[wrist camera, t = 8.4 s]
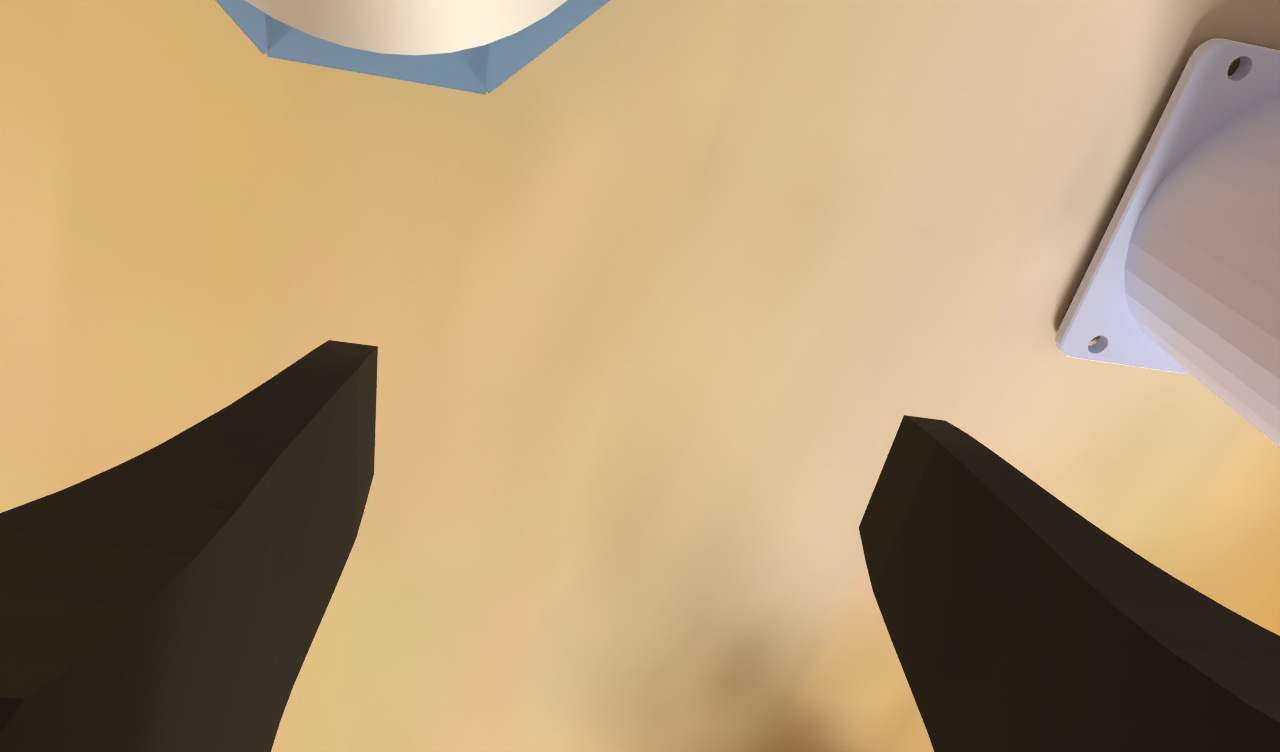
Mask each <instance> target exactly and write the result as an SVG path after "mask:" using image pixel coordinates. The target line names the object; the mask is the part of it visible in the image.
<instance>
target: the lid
mask: <svg viewBox="0 0 1280 752" xmlns="http://www.w3.org/2000/svg"><path fill="white" fill-rule="evenodd" d="M245 1H246V2H248V3H249V4H251V5H253V6H254V7H256V8H258V9H259V10H261V11H263V12H264V13H266V14H268V15H269V16H271V17H272V18H274V19H276V20H278V21H281V22H283V23H285V24H287V25H289V26H291V27H293V28H296V29H298V30H300V31H302V32H304V33H306V34H309V35H311V36H314V37H317V38H320V39H324V40H327V41H330V42H333V43H336V44H339V45H342V46H345V47H350V48H355V49H361V50H366V51H371V52H376V53H382V54H400V55H428V54H440V53H451V52H456V51H460V50H465V49H469V48H474V47H478V46H483V45H486V44H489V43H491V42H494V41H496V40H499V39H502V38H504V37H507V36H510V35H512V34H515V33H517V32H519V31H521V30H522V29H524V28H526V27H528V26H530V25H531V24H533V23H535V22H537V21H539V20H540V19H542V18H544V17H546V16H547V15H549V14H550V13H551V12H553V11H554V10H555V9H557V8H558V7H559V6H561V5H562V4H563V3H565V2H566V1H567V0H245Z"/></svg>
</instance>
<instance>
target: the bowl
mask: <svg viewBox="0 0 1280 752" xmlns="http://www.w3.org/2000/svg"><path fill="white" fill-rule="evenodd" d="M216 1H217V3H218V4H219V5H220V6H221V7H222V8H223V9H224V10H225V12H226V13H227V14H228V15H229V16H230V17H231V18H232V20H233V21H234V22H235V23H236V24H237V25H238V26H239V27H240V29H241V30H242V31H243V32H244V33H245V34H246V35H247V36H248V38H249V39H250V40H251V41H252V42H253V43H254V44H255V45H256V47H257V48H258V49H259V50H260V51H261V52H262V53H263V54H265V53H267V57H273V58H278V59H284V60H290V61H296V62H301V63H307V64H313V65H319V66H325V67H330V68H336V69H342V70H348V71H353V72H359V73H365V74H371V75H376V76H382V77H388V78H394V79H399V80H405V81H411V82H417V83H423V84H428V85H434V86H440V87H446V88H451V89H457V90H463V91H469V92H474V93H480V94H486V91H487V92H488V93H490V92H491V91H493V90H494V89H495V88H497V87H498V86H499V85H501V84H502V83H503V82H504V81H506V80H507V79H508V78H510V77H511V76H512V75H514V74H515V73H516V72H517V71H519V70H520V69H521V68H523V67H524V66H525V65H527V64H528V63H529V62H531V61H532V60H533V59H534V58H536V57H537V56H538V55H540V54H541V53H542V52H544V51H545V50H546V49H547V48H549V47H550V46H551V45H553V44H554V43H555V42H557V41H558V40H559V39H560V38H562V37H563V36H564V35H566V34H567V33H568V32H570V31H571V30H572V29H574V28H575V27H576V26H577V25H579V24H580V23H581V22H583V21H584V20H585V19H587V18H588V17H589V16H590V15H592V14H593V13H594V12H596V11H597V10H598V9H600V8H601V7H602V6H603V5H605V4H606V3H607V2H609V1H610V0H567V1H566V2H565V3H563V4H562V5H561V6H559V7H558V8H557V9H555V10H554V11H553V12H551V13H550V14H549V15H547V16H546V17H544V18H542V19H540V20H539V21H537V22H535V23H533V24H531V25H530V26H528V27H526V28H524V29H522V30H521V31H519V32H517V33H515V34H512V35H510V36H507V37H504V38H502V39H499V40H496V41H494V42H491V43H489V44H486V45H483V46H478V47H474V48H469V49H465V50H460V51H456V52H451V53H440V54H428V55H400V54H382V53H376V52H371V51H366V50H361V49H355V48H350V47H345V46H342V45H339V44H336V43H333V42H330V41H327V40H324V39H320V38H317V37H314V36H311V35H309V34H306V33H304V32H302V31H300V30H298V29H296V28H293V27H291V26H289V25H287V24H285V23H283V22H281V21H278V20H276V19H274V18H272V17H271V16H269V15H268V14H266V13H264V12H263V11H261V10H259V9H258V8H256V7H254V6H253V5H251V4H249V3H248V2H246V1H245V0H216Z"/></svg>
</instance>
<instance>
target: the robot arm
mask: <svg viewBox="0 0 1280 752" xmlns="http://www.w3.org/2000/svg"><path fill="white" fill-rule="evenodd" d="M1237 58H1240V64H1239V68H1238V69H1237V70H1236V72H1235V73H1234V74H1232V75H1230V76H1229V77H1228V74H1227V73H1228V69H1229V66H1230V65H1231V63H1232V62H1233V61H1234V60H1235V59H1237ZM1097 336H1100V339H1099V340H1098V341H1097V342H1096V343H1095V344H1093V345H1091V346H1088V344H1089V342H1090V341H1091V340H1092V339H1093V338H1095V337H1097ZM1055 342H1056V346H1057V347H1058V348H1059V349H1060V350H1061V351H1062V352H1063V353H1064V354H1065V355H1066V356H1068V357H1071V358H1078V359H1084V360H1091V361H1098V362H1105V363H1112V364H1119V365H1126V366H1133V367H1140V368H1147V369H1154V370H1160V371H1167V372H1174V373H1181V374H1188V375H1191V376H1193V377H1194V378H1195V379H1196V380H1198V381H1199V382H1200V383H1201V384H1202V385H1204V386H1205V387H1206V388H1207V389H1208V390H1210V391H1211V392H1212V393H1213V394H1215V395H1216V396H1217V397H1218V398H1219V399H1221V400H1222V401H1223V402H1224V403H1226V404H1227V405H1228V406H1229V407H1230V408H1232V409H1233V410H1234V411H1235V412H1237V413H1238V414H1239V415H1240V416H1241V417H1243V418H1244V419H1245V420H1246V421H1248V422H1249V423H1250V424H1251V425H1252V426H1254V427H1255V428H1256V429H1257V430H1258V431H1260V432H1261V433H1262V434H1263V435H1265V436H1266V437H1267V438H1268V439H1269V440H1271V441H1272V442H1273V443H1274V444H1276V445H1277V446H1278V447H1279V448H1280V50H1276V49H1271V48H1266V47H1262V46H1257V45H1252V44H1247V43H1242V42H1237V41H1233V40H1228V39H1223V38H1212V39H1210V40H1208V41H1205V42H1203V43H1202V44H1201V45H1200V46H1199V47H1197V48H1196V49H1195V51H1194V52H1193V54H1192V55H1191V56H1190V58H1189V60H1188V62H1187V64H1186V66H1185V68H1184V71H1183V73H1182V75H1181V77H1180V79H1179V81H1178V83H1177V85H1176V87H1175V89H1174V91H1173V93H1172V95H1171V97H1170V100H1169V102H1168V104H1167V106H1166V108H1165V110H1164V112H1163V114H1162V116H1161V118H1160V120H1159V122H1158V124H1157V126H1156V129H1155V131H1154V133H1153V135H1152V137H1151V139H1150V141H1149V143H1148V145H1147V147H1146V149H1145V151H1144V153H1143V155H1142V158H1141V160H1140V162H1139V164H1138V166H1137V168H1136V170H1135V172H1134V174H1133V176H1132V178H1131V180H1130V182H1129V184H1128V187H1127V189H1126V191H1125V193H1124V195H1123V197H1122V199H1121V201H1120V203H1119V205H1118V207H1117V209H1116V211H1115V213H1114V216H1113V218H1112V220H1111V222H1110V224H1109V226H1108V228H1107V230H1106V232H1105V234H1104V236H1103V238H1102V240H1101V242H1100V245H1099V247H1098V249H1097V251H1096V253H1095V255H1094V257H1093V259H1092V261H1091V263H1090V265H1089V267H1088V269H1087V271H1086V274H1085V276H1084V278H1083V280H1082V282H1081V284H1080V286H1079V288H1078V290H1077V292H1076V294H1075V296H1074V298H1073V300H1072V303H1071V305H1070V307H1069V309H1068V311H1067V313H1066V315H1065V317H1064V319H1063V321H1062V323H1061V325H1060V327H1059V329H1058V332H1057V334H1056V338H1055ZM377 354H378V347H377V346H369V345H361V344H354V343H346V342H338V341H331V340H329V341H327V342H325V343H324V344H322V345H320V346H319V347H317V348H316V349H314V350H313V351H311V352H310V353H308V354H307V355H305V356H304V357H302V358H301V359H299V360H298V361H296V362H295V363H294V364H292V365H291V366H289V367H288V368H286V369H285V370H283V371H282V372H280V373H279V374H277V375H276V376H274V377H273V378H271V379H270V380H268V381H266V382H265V383H263V384H262V385H260V386H259V387H257V388H256V389H254V390H252V391H251V392H249V393H248V394H246V395H245V396H243V397H242V398H240V399H238V400H237V401H235V402H234V403H232V404H231V405H229V406H227V407H226V408H224V409H222V410H220V411H219V412H217V413H215V414H213V415H212V416H210V417H208V418H206V419H205V420H203V421H201V422H199V423H198V424H196V425H194V426H192V427H190V428H189V429H187V430H185V431H183V432H182V433H180V434H178V435H176V436H175V437H173V438H171V439H169V440H168V441H166V442H164V443H162V444H160V445H158V446H156V447H155V448H153V449H151V450H149V451H147V452H145V453H143V454H141V455H139V456H137V457H135V458H133V459H130V460H128V461H126V462H124V463H122V464H120V465H118V466H116V467H114V468H111V469H109V470H107V471H105V472H102V473H100V474H98V475H96V476H93V477H91V478H89V479H87V480H85V481H82V482H80V483H78V484H76V485H73V486H71V487H68V488H66V489H64V490H61V491H59V492H56V493H54V494H51V495H48V496H45V497H43V498H40V499H37V500H35V501H32V502H29V503H27V504H24V505H21V506H19V507H16V508H13V509H11V510H8V511H5V512H3V513H0V752H271V749H272V746H273V743H274V740H275V736H276V733H277V730H278V727H279V723H280V720H281V717H282V715H283V712H284V709H285V707H286V704H287V701H288V699H289V696H290V693H291V691H292V688H293V686H294V683H295V681H296V678H297V676H298V674H299V671H300V669H301V667H302V664H303V662H304V660H305V657H306V655H307V653H308V650H309V648H310V646H311V643H312V641H313V639H314V636H315V634H316V632H317V629H318V627H319V625H320V622H321V620H322V618H323V615H324V613H325V611H326V608H327V606H328V604H329V601H330V599H331V597H332V594H333V592H334V590H335V587H336V585H337V583H338V580H339V578H340V576H341V573H342V571H343V568H344V566H345V564H346V561H347V559H348V557H349V554H350V552H351V549H352V547H353V545H354V542H355V540H356V537H357V533H358V530H359V526H360V523H361V519H362V516H363V512H364V509H365V505H366V501H367V498H368V494H369V490H370V486H371V483H372V479H373V475H374V452H375V419H376V387H377ZM859 531H860V535H861V540H862V545H863V550H864V555H865V560H866V564H867V568H868V573H869V577H870V581H871V585H872V589H873V592H874V595H875V597H876V600H877V603H878V606H879V608H880V611H881V614H882V616H883V619H884V622H885V624H886V627H887V630H888V632H889V635H890V637H891V640H892V643H893V645H894V648H895V650H896V653H897V655H898V658H899V660H900V663H901V665H902V668H903V671H904V673H905V676H906V678H907V681H908V683H909V686H910V688H911V691H912V693H913V696H914V699H915V701H916V704H917V706H918V709H919V711H920V714H921V716H922V719H923V722H924V724H925V727H926V729H927V732H928V735H929V737H930V740H931V743H932V746H933V749H934V752H1280V636H1279V635H1277V634H1275V633H1273V632H1271V631H1269V630H1267V629H1265V628H1263V627H1261V626H1259V625H1257V624H1255V623H1253V622H1251V621H1250V620H1248V619H1246V618H1244V617H1242V616H1240V615H1238V614H1237V613H1235V612H1233V611H1231V610H1229V609H1227V608H1226V607H1224V606H1222V605H1221V604H1219V603H1217V602H1215V601H1214V600H1212V599H1210V598H1209V597H1207V596H1205V595H1203V594H1202V593H1200V592H1198V591H1197V590H1195V589H1193V588H1191V587H1190V586H1188V585H1186V584H1185V583H1183V582H1181V581H1179V580H1178V579H1176V578H1174V577H1173V576H1171V575H1169V574H1168V573H1166V572H1165V571H1163V570H1161V569H1160V568H1158V567H1156V566H1155V565H1153V564H1152V563H1150V562H1149V561H1147V560H1145V559H1144V558H1142V557H1141V556H1139V555H1138V554H1136V553H1135V552H1133V551H1132V550H1130V549H1129V548H1127V547H1126V546H1124V545H1123V544H1121V543H1120V542H1118V541H1117V540H1115V539H1114V538H1112V537H1111V536H1109V535H1108V534H1106V533H1105V532H1103V531H1102V530H1100V529H1099V528H1098V527H1096V526H1095V525H1093V524H1092V523H1090V522H1089V521H1088V520H1086V519H1085V518H1083V517H1082V516H1080V515H1079V514H1078V513H1076V512H1075V511H1073V510H1072V509H1071V508H1069V507H1068V506H1066V505H1065V504H1064V503H1062V502H1061V501H1060V500H1058V499H1057V498H1055V497H1054V496H1053V495H1051V494H1050V493H1049V492H1047V491H1046V490H1044V489H1043V488H1042V487H1040V486H1039V485H1038V484H1036V483H1035V482H1034V481H1032V480H1031V479H1029V478H1028V477H1027V476H1025V475H1024V474H1023V473H1021V472H1020V471H1019V470H1017V469H1016V468H1015V467H1013V466H1012V465H1010V464H1009V463H1008V462H1006V461H1005V460H1004V459H1002V458H1001V457H1000V456H998V455H997V454H995V453H994V452H993V451H991V450H990V449H988V448H987V447H986V446H984V445H983V444H981V443H980V442H978V441H977V440H976V439H974V438H973V437H971V436H970V435H968V434H967V433H965V432H963V431H962V430H960V429H959V428H957V427H955V426H953V425H952V424H950V423H948V422H946V421H943V420H936V419H928V418H920V417H913V416H905V415H904V417H903V419H902V422H901V424H900V427H899V429H898V432H897V434H896V437H895V439H894V442H893V444H892V447H891V449H890V451H889V454H888V456H887V459H886V461H885V464H884V466H883V469H882V471H881V474H880V476H879V479H878V481H877V484H876V486H875V489H874V491H873V494H872V496H871V499H870V501H869V504H868V506H867V509H866V511H865V514H864V516H863V518H862V521H861V523H860V526H859Z"/></svg>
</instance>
